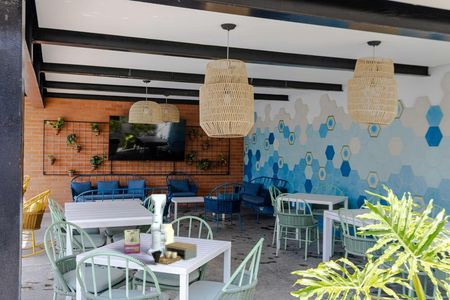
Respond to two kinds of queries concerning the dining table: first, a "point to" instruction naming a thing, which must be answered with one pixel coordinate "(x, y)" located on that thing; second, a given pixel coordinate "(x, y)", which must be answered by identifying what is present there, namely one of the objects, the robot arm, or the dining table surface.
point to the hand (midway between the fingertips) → (156, 262)
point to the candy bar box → (132, 241)
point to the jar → (169, 233)
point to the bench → (187, 253)
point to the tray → (167, 261)
